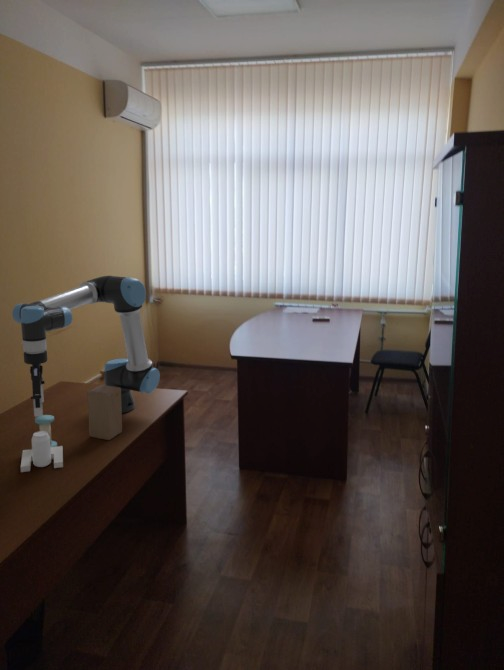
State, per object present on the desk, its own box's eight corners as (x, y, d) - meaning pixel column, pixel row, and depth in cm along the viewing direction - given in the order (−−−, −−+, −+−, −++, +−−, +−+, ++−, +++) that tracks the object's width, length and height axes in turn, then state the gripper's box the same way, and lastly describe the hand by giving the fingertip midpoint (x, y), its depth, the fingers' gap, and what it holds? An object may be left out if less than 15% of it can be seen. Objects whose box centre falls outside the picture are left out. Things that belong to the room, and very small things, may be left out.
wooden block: (123, 432, 225) (121, 386, 221) (109, 441, 216) (107, 394, 212) (102, 428, 228) (101, 383, 224) (88, 437, 219) (86, 390, 215)
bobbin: (57, 441, 214) (55, 413, 211) (57, 450, 207) (55, 421, 204) (35, 444, 212) (33, 415, 209) (34, 452, 204) (32, 423, 202)
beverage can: (40, 470, 191) (38, 438, 188) (29, 465, 194) (27, 434, 192) (55, 463, 196) (53, 432, 194) (44, 458, 199) (42, 428, 197)
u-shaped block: (62, 450, 207) (62, 445, 206) (62, 467, 194) (62, 461, 193) (23, 455, 202) (23, 450, 202) (20, 472, 189) (20, 466, 189)
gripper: (25, 342, 196) (29, 397, 201) (21, 361, 173) (25, 423, 178) (47, 341, 198) (51, 396, 203) (45, 360, 175) (50, 420, 180)
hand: (39, 408), depth 190 cm, fingers open, 13 cm apart
